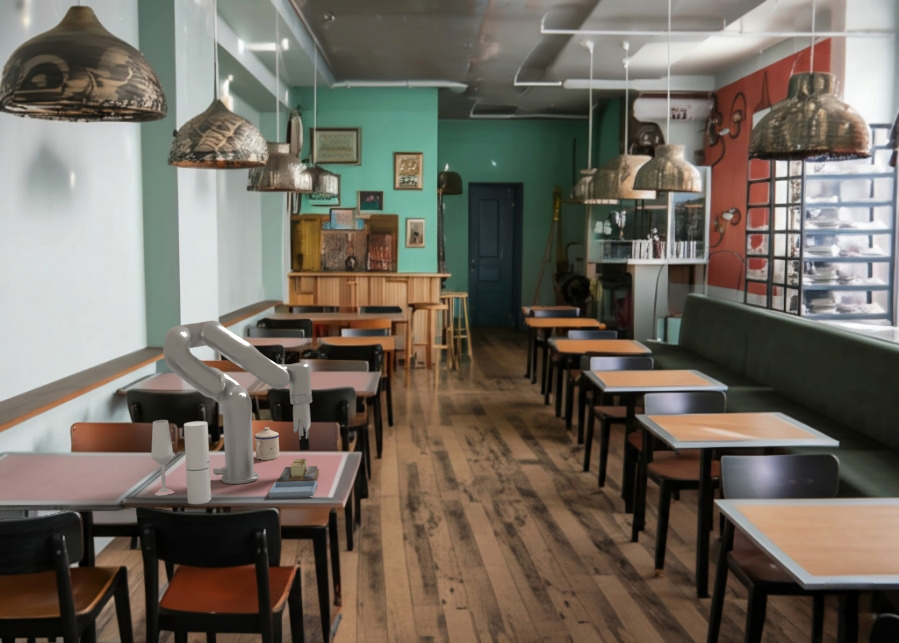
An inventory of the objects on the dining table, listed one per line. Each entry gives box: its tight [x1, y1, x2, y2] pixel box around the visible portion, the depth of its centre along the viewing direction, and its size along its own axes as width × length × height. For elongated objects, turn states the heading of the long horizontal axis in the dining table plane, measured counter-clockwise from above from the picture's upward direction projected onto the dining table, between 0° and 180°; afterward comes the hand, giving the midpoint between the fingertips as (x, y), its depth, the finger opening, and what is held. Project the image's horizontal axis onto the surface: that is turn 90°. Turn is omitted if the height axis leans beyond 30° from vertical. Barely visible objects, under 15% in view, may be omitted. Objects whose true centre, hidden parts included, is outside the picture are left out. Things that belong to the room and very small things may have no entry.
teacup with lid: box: [254, 426, 280, 461], centre depth 325 cm, size 12×9×12 cm
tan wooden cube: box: [290, 462, 305, 478], centre depth 291 cm, size 4×4×4 cm
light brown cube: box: [292, 458, 308, 473], centre depth 296 cm, size 4×4×4 cm
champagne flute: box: [151, 419, 174, 492], centre depth 282 cm, size 7×7×24 cm
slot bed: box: [277, 465, 320, 482], centre depth 293 cm, size 12×13×4 cm
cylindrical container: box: [183, 420, 212, 505], centre depth 272 cm, size 7×7×25 cm
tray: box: [268, 480, 318, 499], centre depth 280 cm, size 14×12×2 cm
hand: (304, 449), depth 303 cm, fingers closed
